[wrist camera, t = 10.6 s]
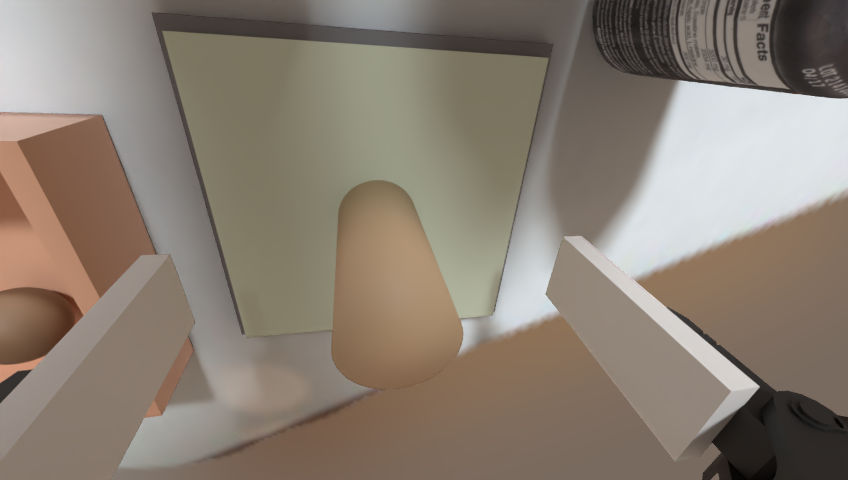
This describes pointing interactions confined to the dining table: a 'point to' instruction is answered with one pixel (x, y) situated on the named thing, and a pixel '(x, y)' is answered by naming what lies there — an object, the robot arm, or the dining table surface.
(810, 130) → the dining table surface
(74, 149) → the dish
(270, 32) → the mat
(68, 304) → the ball walnut
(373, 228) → the lid
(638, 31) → the pill bottle
